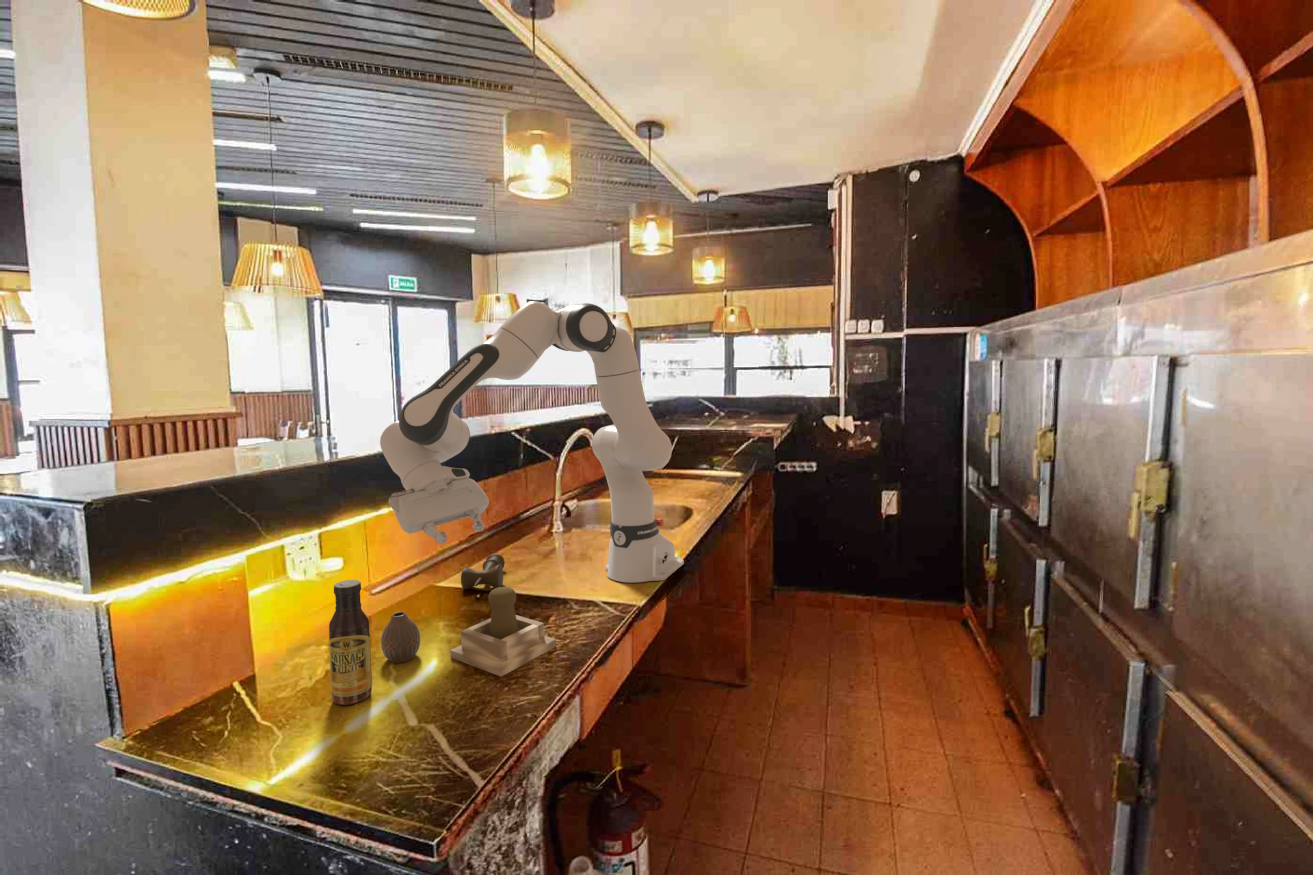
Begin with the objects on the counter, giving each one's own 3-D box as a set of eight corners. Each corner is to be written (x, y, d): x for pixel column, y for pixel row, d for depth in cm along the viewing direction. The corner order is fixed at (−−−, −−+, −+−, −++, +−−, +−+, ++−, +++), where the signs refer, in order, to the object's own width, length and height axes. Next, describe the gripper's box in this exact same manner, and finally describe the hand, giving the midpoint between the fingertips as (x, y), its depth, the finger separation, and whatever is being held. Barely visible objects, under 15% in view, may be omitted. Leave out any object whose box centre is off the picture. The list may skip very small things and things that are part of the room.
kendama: (514, 571, 170) (496, 596, 150) (478, 573, 170) (456, 599, 150) (512, 550, 170) (494, 572, 150) (477, 552, 169) (454, 574, 150)
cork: (513, 651, 117) (510, 595, 116) (483, 650, 118) (479, 594, 117) (525, 637, 123) (522, 583, 122) (496, 636, 124) (493, 582, 123)
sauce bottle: (328, 710, 101) (317, 592, 99) (336, 691, 107) (326, 579, 105) (372, 703, 103) (362, 587, 101) (377, 685, 109) (368, 575, 107)
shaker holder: (506, 630, 130) (505, 607, 130) (556, 646, 122) (554, 621, 122) (450, 657, 119) (449, 632, 118) (500, 676, 111) (499, 649, 110)
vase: (429, 654, 121) (426, 610, 120) (398, 669, 115) (394, 624, 114) (405, 647, 124) (402, 604, 123) (374, 661, 118) (370, 617, 117)
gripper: (390, 485, 124) (425, 539, 120) (472, 467, 141) (506, 514, 136) (379, 505, 127) (413, 558, 123) (461, 485, 144) (493, 532, 139)
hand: (462, 535), depth 130 cm, fingers open, 8 cm apart
